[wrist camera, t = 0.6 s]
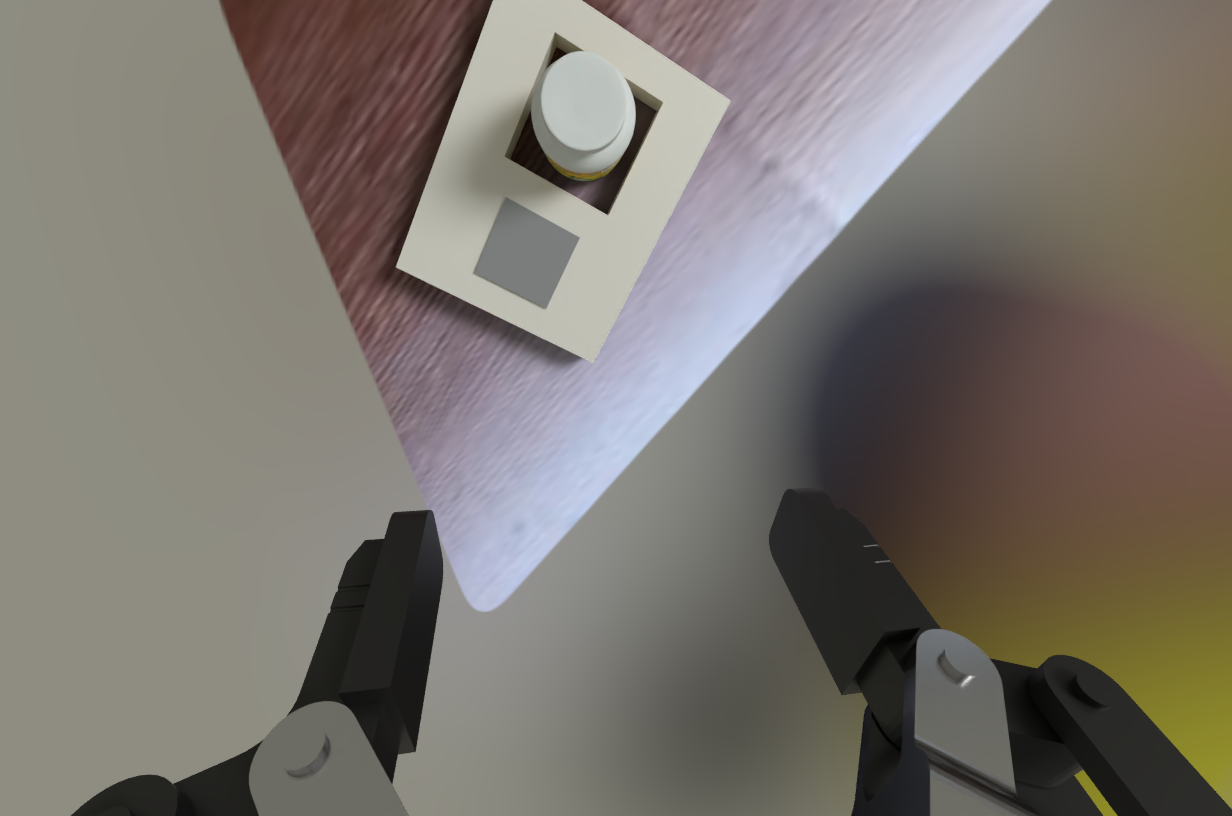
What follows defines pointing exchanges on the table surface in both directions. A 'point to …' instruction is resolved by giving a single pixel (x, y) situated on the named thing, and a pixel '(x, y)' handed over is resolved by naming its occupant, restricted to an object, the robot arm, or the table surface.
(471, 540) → the table surface
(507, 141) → the socket dock
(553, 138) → the supplement bottle
